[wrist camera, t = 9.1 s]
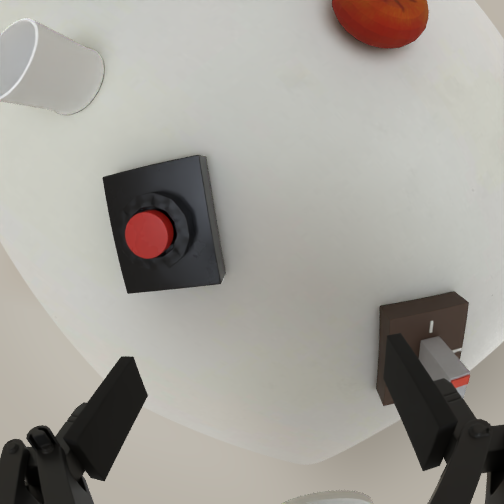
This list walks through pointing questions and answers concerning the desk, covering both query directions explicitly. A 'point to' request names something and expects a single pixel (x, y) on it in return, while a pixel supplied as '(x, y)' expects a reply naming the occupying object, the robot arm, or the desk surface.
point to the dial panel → (421, 327)
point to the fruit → (383, 20)
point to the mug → (47, 69)
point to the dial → (443, 363)
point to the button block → (181, 216)
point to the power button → (149, 233)
